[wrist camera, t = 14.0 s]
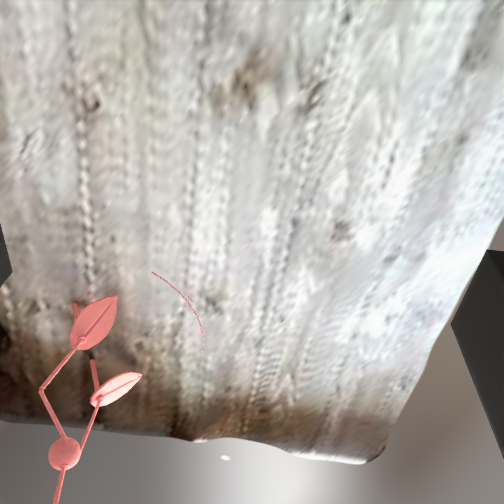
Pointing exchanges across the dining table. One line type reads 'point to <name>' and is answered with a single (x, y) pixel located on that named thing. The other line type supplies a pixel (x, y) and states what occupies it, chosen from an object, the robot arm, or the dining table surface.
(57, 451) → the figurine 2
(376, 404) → the dining table surface
